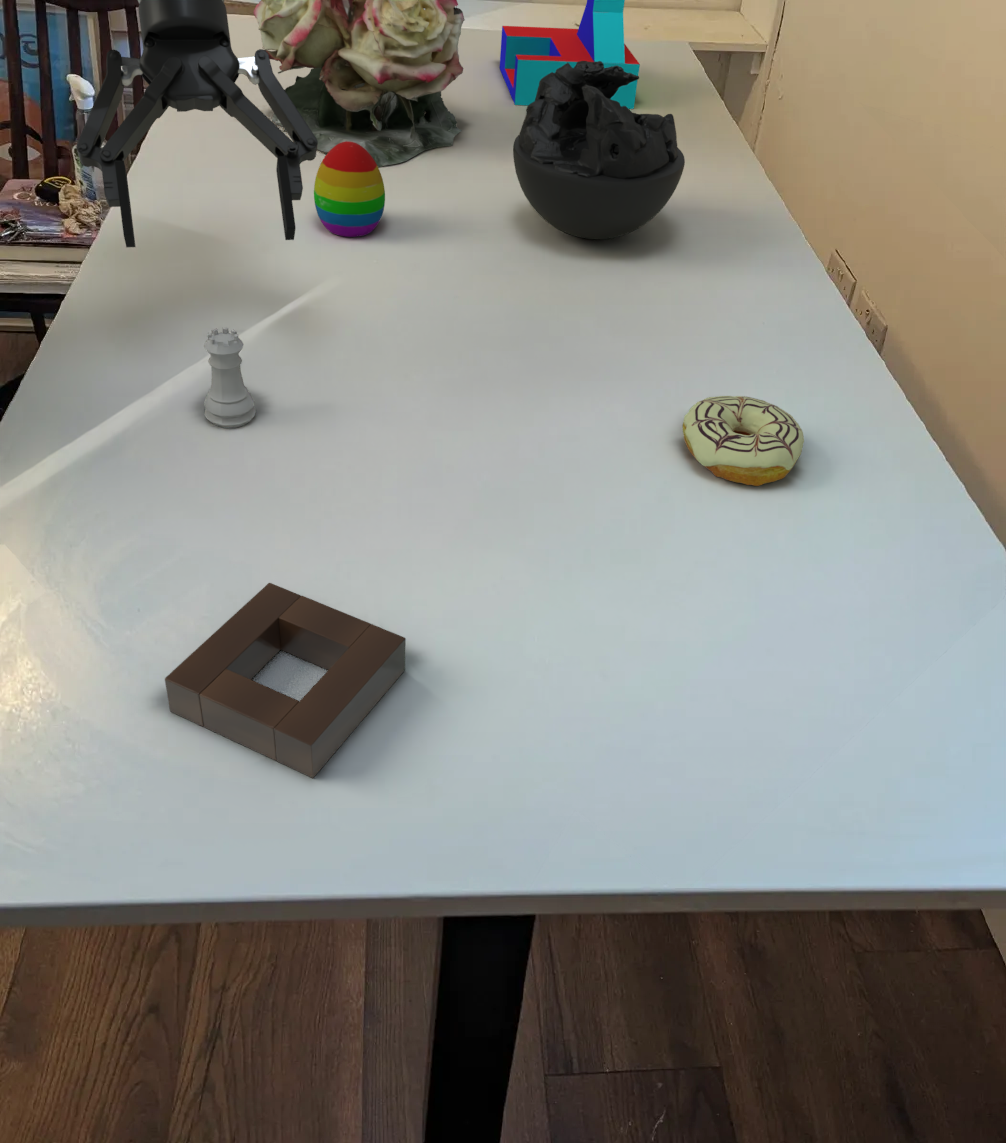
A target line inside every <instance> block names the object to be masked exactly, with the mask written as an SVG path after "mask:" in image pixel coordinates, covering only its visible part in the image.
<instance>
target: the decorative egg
mask: <svg viewBox="0 0 1006 1143" xmlns="http://www.w3.org/2000/svg"><path fill="white" fill-rule="evenodd" d="M313 185H314V186H313V199H314V200H313V201H314V206H315V210H316V214H317V216H318V218H319V220H320V222H321V224H322V225H323V226H324V227H325V229H326V230H327V231H328V232H329V233H331V234H333V235H336V236H340V237H345V238H357V237H358V238H359V237H363V236H367V235H369V234H371V233H372V232H373V231H374V230H375V229H376V228H377V227H378V225H379V223H380V221H381V219H382V216H383V214H384V211H385V204H386V191H385V184H384V180H383V176H382V174H381V170H380V167H378V166H377V164H376V162H375V161H374V159H373V158H372V156H371V155H370V154H369V153H368V152H367V150H365V149H364V148H363V147H362V146H360V145H359V144H357V143H354V142H349V141H346V142H342V143H339V144H337V145H336V146H334V147H333V148H332V149H331V150H330V151H329V152H326V154H325V155H324V157H323V159H322V161H321V162H320V164H319V167H318V169H317V171H316V175H315V180H314V184H313Z"/></svg>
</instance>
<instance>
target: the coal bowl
mask: <svg viewBox="0 0 1006 1143" xmlns="http://www.w3.org/2000/svg"><path fill="white" fill-rule="evenodd" d="M639 79H640V76H639V75H638V76H636V75H634V74H632V73H627V72H624V69H623V68H622V67H620V66H613V67H612V66H611V67H608V68H604V65H603V62H601V61H598V62H587V61H579V62H577V64H576V66H575V67H574V68H572V67H571V66H570V64H569V63H566V64H565V65H563V66H562V67H560V68H558V69H557V70H556V72H555V73H553V72H551V73H550V74H548V75H546V76H545V77H543V78H542V79H541V80H540V82H539V87H538V90H537V94H536V98H535V101H534V102H533V103H531V104H530V105H526V106H527V107H526V109H525V110H526V112H525V117H524V119H523V123H522V125H521V128H520V131H519V133H518V135H516V137H515V139H514V141H513V145H512V155H513V165H514V169H515V174H516V178H517V181H518V183H519V186H520V188H521V190H522V192H523V194H524V197H525V198H526V200H527V201H528V203H529V204H530V206H531V207H532V208H533V210H534V211H535V212H536V213H537V214H538V215H539V216H540V217H541V218H542V219H543V220H544V221H545V222H547V223H548V224H549V225H551V226H552V227H554V228H555V229H558V230H559V231H561V232H563V233H565V234H568V235H570V236H573V237H577V238H581V239H587V240H606V239H607V240H608V239H613V238H618V237H621V236H625V235H628V234H629V233H631V232H634V231H636V230H638V229H640V228H642V227H643V226H645V225H646V224H647V223H649V222H650V221H651V220H653V219H654V218H655V216H657V215H658V214H659V213H660V212H661V211H662V210H663V208H664V207H665V206H666V205H667V203H668V202H669V200H670V199H671V198H672V196H673V195H674V193H675V191H676V189H677V188H678V185H679V183H680V180H681V178H682V175H683V173H684V168H685V165H686V164H685V163H686V160H685V154H683V152H682V150H681V149H680V148H679V147H678V140H677V137H678V136H677V129H676V123H675V118H674V115H673V114H672V113H667V114H666V115H664V116H662V115H661V114H658V113H636V112H632V110H631V109H628V108H627V107H626V106H620V103H619V102H617V101H614V100H611V98H612V96H614V94H615V93H616V92H617V90H618V88H619V87H621V86H624V85H628V84H629V83H630V82H633V81H636V80H639Z"/></svg>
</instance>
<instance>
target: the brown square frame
mask: <svg viewBox="0 0 1006 1143" xmlns="http://www.w3.org/2000/svg"><path fill="white" fill-rule="evenodd" d="M406 640H407V639H406V637H404V636H401V635H399V634H397V633H395V632H392V631H390V630H387V629H385V628H383V627H380V626H378V625H375V624H373V623H370V622H368V621H366V620H363V619H361V618H358V617H357V616H354V615H351V614H349V613H346V612H344V611H341V610H338V609H336V608H333V607H331V606H329V605H326V604H324V603H321V602H319V601H317V600H315V599H312V598H310V597H307V596H304V595H301V594H299V593H296V592H294V591H292V590H289V589H286V588H284V587H282V586H279V585H277V584H274V583H272V582H268V583H267V584H265V586H264V587H263V588H262V589H260V590H259V591H258V592H257V593H256V594H254V596H252V598H251V599H250V600H248V601H247V602H246V603H245V604H244V605H243V606H242V607H241V608H240V609H238V610H237V611H236V612H235V613H234V614H233V615H231V617H230V618H229V619H228V620H226V621H225V622H224V623H223V624H222V625H221V626H220V627H219V628H218V629H217V630H216V631H215V632H214V633H212V634H211V635H210V636H209V637H208V638H207V639H206V640H205V641H204V642H202V643H201V644H200V645H198V647H197V648H196V649H195V650H194V651H193V652H192V653H190V654H189V655H188V656H187V657H186V658H185V659H184V660H183V661H182V662H180V664H179V665H177V666H176V667H175V668H174V669H172V671H171V672H170V673H168V675H167V676H166V677H164V683H165V690H166V695H167V701H168V702H167V703H168V705H169V706H168V707H169V711H170V712H171V713H173V714H175V715H177V716H179V717H182V718H184V719H186V720H188V721H190V722H192V723H194V724H196V725H199V726H201V727H204V728H205V729H207V730H210V731H212V732H213V733H216V734H218V735H219V736H223V737H224V738H227V739H229V740H231V741H233V742H235V743H237V744H239V745H241V746H244V747H246V748H248V749H250V750H252V751H254V752H256V753H258V754H261V755H263V756H265V757H267V758H269V759H271V760H273V761H276V762H277V763H280V764H281V765H284V766H286V767H288V768H290V769H292V770H295V771H297V772H299V773H301V774H302V775H305V776H307V777H310V778H312V779H314V778H315V777H316V776H317V774H318V773H319V772H320V771H321V770H322V768H324V766H325V765H326V763H328V761H329V760H330V759H331V758H332V757H333V755H335V753H336V752H337V751H338V750H339V748H341V746H342V745H343V744H344V742H346V740H347V739H348V738H349V737H350V736H351V734H352V733H353V732H354V731H355V730H356V729H357V727H358V726H359V725H360V724H361V723H362V722H363V720H364V719H365V718H366V717H367V715H368V714H369V713H370V712H371V711H372V710H373V708H375V706H376V705H377V704H378V702H379V701H381V699H382V698H383V696H385V694H386V693H387V692H388V691H389V690H390V688H391V687H392V686H393V685H394V684H395V683H396V681H397V680H398V679H399V678H400V677H401V675H403V673H404V672H405V670H406V643H407V641H406ZM280 651H283V652H285V653H287V654H290V655H292V656H295V657H297V658H299V659H301V660H303V661H306V662H308V663H311V664H312V665H315V666H317V667H319V668H322V669H325V670H327V671H326V672H325V673H324V674H323V676H321V677H320V679H319V680H318V681H317V682H316V683H315V684H314V685H313V686H312V687H311V688H310V689H309V690H308V692H306V693H305V695H304V696H303V697H302V698H301V699H300V700H298V699H297V698H293V697H291V696H288V695H286V694H284V693H282V692H279V691H278V690H275V689H273V688H271V687H268V686H266V685H264V684H263V683H260V682H257V681H255V680H253V678H254V677H255V676H256V675H257V674H258V673H259V672H260V671H261V670H262V669H263V668H264V667H265V666H266V665H267V664H268V663H269V662H270V661H271V660H272V659H273V658H274V656H276V655H277V654H278V653H279V652H280Z"/></svg>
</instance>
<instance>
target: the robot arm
mask: <svg viewBox="0 0 1006 1143" xmlns="http://www.w3.org/2000/svg"><path fill="white" fill-rule="evenodd" d="M137 2H138V17H139V25H140V33H141V35H140V36H141V42H142V54H141V56H140V57H139V58H137V57H129V56H122V54H121V53H120V51H118V50H117V49H110V50H108V52H107V53H106V75H105V77H104V79H103V82H102V84H101V85H100V86H101V87H100V88H99V91H98V93H97V95H96V98H95V100H94V102H93V105H92V108H91V110H90V112H89V115H88V117H87V119H86V122H85V124H84V126H83V129H82V130H81V133H80V135H79V137H78V141H77V143H76V146H75V147H76V152H77V155H78V159H79V162H80V164H81V165H82V166H83V167H86V168H90V167H93V168H97V169H99V170H100V171H101V175H102V183H103V192H104V197H105V198H104V199H105V201H106V203H107V205H108V207H109V208H120V216H121V226H122V233H123V239H124V243H125V248H136V240H135V233H134V232H135V230H134V224H133V215H132V206H131V205H132V204H131V198H130V190H129V182H128V174H127V169H126V164H125V160H126V159H127V158H128V156H130V154H131V153H132V152H133V150H134V149H135V148H136V146H137V145H138V143H139V142H141V140H142V139H143V137H144V136H145V135H146V134H147V133H148V131H149V129H151V127H152V126H153V125H154V123H155V122H156V121H157V120H158V119H160V118H161V117H162V116H163V115H164V114H165V112H166V111H167V110H168V108H169V107H170V108H172V109H174V110H176V112H178V113H180V112H181V113H183V112H186V113H187V112H190V111H194V110H198V111H202V112H213V111H214V109H216V108H218V107H220V108H221V109H222V110H223V111H224V112H225V113H226V114H228V116H229V117H232V118H234V119H235V120H236V121H238V123H240V124H241V125H242V126H243V127H244V128H245V129H246V130H247V131H248V132H249V133H250V134H251V135H252V136H253V137H254V138H255V139H256V140H258V141H259V142H260V144H262V145H263V146H264V147H265V148H266V149H267V150H268V151H269V152H270V153H271V154H272V155H273V156H274V157H275V158H276V168H275V169H276V170H275V171H276V172H275V173H276V178H277V179H276V180H277V185H278V193H279V201H280V209H281V217H282V226H283V233H284V240H285V241H294V240H295V236H296V228H297V227H296V220H295V214H294V205H293V201H301V199H302V195H303V191H304V190H303V189H304V186H303V178H302V173H301V172H302V171H301V164H302V163H303V162H306V161H308V162H311V161H314V160H316V157H317V152H318V150H317V145H318V141H317V138H316V137H315V135H314V134H313V132H312V131H311V129H310V128H309V126H308V125H307V123H306V122H305V120H304V119H303V117H302V116H301V114H300V113H299V111H298V110H297V108H296V107H295V105H294V104H293V102H292V101H291V99H290V98H289V96H288V95H287V93H286V92H285V89H284V87H283V86H282V84H281V83H280V81H279V80H278V77H277V76H276V75H275V74H274V72H273V68H272V63H271V59H269V55H268V53H267V52H266V51H265V49H263V48H259V49H257V50H256V51H255V52H254V55H253V56H243V57H238V56H236V55H235V54H236V53H234V51H233V48H232V43H231V42H232V41H231V35H230V28H229V20H228V19H229V18H228V12H227V7H226V4H225V0H137ZM240 75H244V76H246V77H247V79H248V81H249V83H251V84H252V85H255V86H258V89H259V92H260V94H261V95H262V97H263V99H264V100H265V102H266V104H267V105H268V106H269V107H270V109H271V111H272V112H273V114H275V115H276V117H277V118H278V120H279V121H280V123H281V124H282V126H283V127H282V126H281V127H282V128H283V130H286V131H285V132H286V133H285V132H284V131H282V129H280V127H278V126H277V124H276V123H275V122H273V121H272V119H270V118H269V117H267V115H266V114H265V113H264V112H263V111H262V110H260V108H258V106H256V105H255V104H254V103H253V102H252V100H250V99H249V98H248V97H247V96H246V95H245V94H244V92H243V91H242V88H240V87H239V86H238V84H236V81H237V80H238V79H239V76H240ZM136 76H141V77H142V79H143V80H144V81H145V83H147V84H148V86H147V87H146V88H145V90H144V92H143V95H142V97H140V99H139V101H138V102H137V103H136V105H134V107H133V108H132V110H131V111H130V112H129V113H128V115H127V116H126V117H125V118H124V120H123V121H122V122H121V123H120V125H119V126H118V128H117V129H116V130H115V131H114V132H113V134H112V135H111V136H110V137H109V139H108V140H107V141H106V142H105V144H104V145H103V143H104V141H105V138H106V136H107V134H108V131H109V129H110V126H111V124H112V122H113V119H114V117H115V114H116V113H117V110H118V107H119V106H120V102H121V101H122V98H123V95H124V89H125V88H124V87H128V86H130V85H131V84H132V83H133V81H134V78H135V77H136ZM288 136H289V137H288Z"/></svg>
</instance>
